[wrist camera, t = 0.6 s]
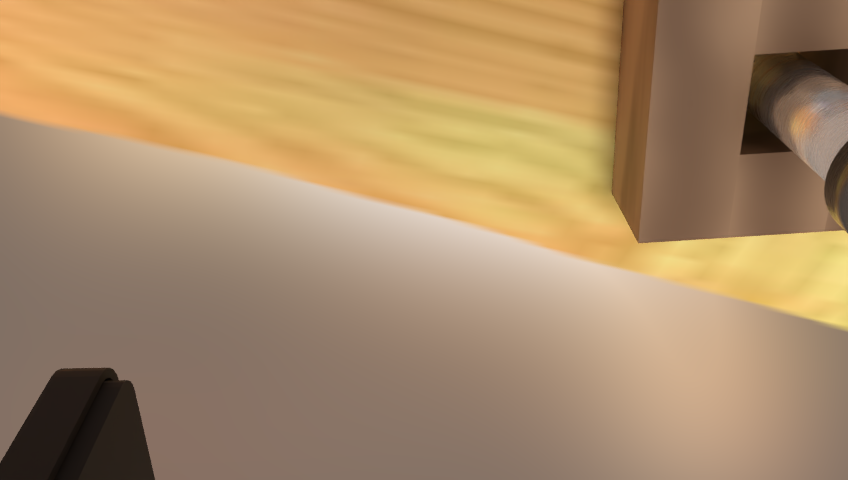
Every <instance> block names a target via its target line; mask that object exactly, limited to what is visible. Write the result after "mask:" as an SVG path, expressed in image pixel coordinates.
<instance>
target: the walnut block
mask: <svg viewBox="0 0 848 480" xmlns="http://www.w3.org/2000/svg"><path fill="white" fill-rule="evenodd" d="M788 52H800V54H801V55H802V56H804V57H805V58H807V59H808V60H810V61H811V62H813V63H814V64H816V65H817V66H819V67H820V68H822V69H823V70H825V71H826V72H828V73H830V74H831V75H833V76H834V77H836V78H837V79H839V80H840V81H842V82H843V83H845V84H846V85H848V0H624V10H623V26H622V42H621V58H620V74H619V90H618V105H617V121H616V137H615V153H614V169H613V185H612V194H613V196H614V198H615V200H616V202H617V204H618V205H619V207H620V209H621V211H622V213H623V215H624V217H625V219H626V221H627V222H628V224H629V226H630V228H631V230H632V232H633V234H634V236H635V238H636V240H637V241H638V243H649V242H665V241H681V240H696V239H712V238H728V237H744V236H760V235H775V234H791V233H807V232H823V231H839V230H844V229H843V228H842V227H841V226H840V225H839V224H838V223H837V222H836V221H835V220H834V219H833V218H832V216H831V215H830V213H829V211H828V209H827V206H826V203H825V197H824V186H825V181H824V180H823V179H822V178H821V177H820V176H819V175H818V174H817V173H816V172H815V171H813V170H812V169H811V168H810V167H809V166H808V165H807V164H806V163H805V162H804V161H803V160H801V159H800V158H799V157H798V156H797V155H796V154H795V153H794V152H793V151H792V150H791V149H789V148H788V147H787V146H786V145H785V144H784V143H783V142H782V141H781V140H780V139H779V138H777V137H776V136H775V135H774V134H773V133H772V132H771V131H770V130H769V129H768V128H767V127H765V126H764V125H763V124H762V123H761V122H760V121H759V120H758V119H757V118H756V117H755V116H754V115H752V114H751V113H750V112H749V111H748V110H746V109H747V102H748V95H749V89H750V82H751V75H752V68H753V61H754V55H757V54H773V53H788Z"/></svg>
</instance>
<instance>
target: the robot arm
mask: <svg viewBox="0 0 848 480" xmlns="http://www.w3.org/2000/svg"><path fill="white" fill-rule="evenodd" d="M0 480H155V478H154V474H153V469H152V465H151V460H150V456H149V451H148V447H147V443H146V438H145V434H144V429H143V426H142V420H141V416H140V412H139V407H138V403H137V399H136V394H135V390H134V387H133V384H132V383H131V382H130V381H127V380H126V381H125V380H123V381H119V380H118V377H117V374H116V373H115V371H114V370H113V369H111V368H73V369H60V370H57V371H56V372H55V373H54V374H53V376H52V377H51V379H50V380H49V382H48V383H47V385H46V387H45V389H44V390H43V392H42V394H41V395H40V397H39V399H38V400H37V402H36V404H35V405H34V407H33V409H32V410H31V412H30V414H29V415H28V417H27V419H26V420H25V422H24V424H23V425H22V427H21V429H20V431H19V432H18V434H17V436H16V437H15V439H14V441H13V442H12V444H11V446H10V447H9V449H8V451H7V452H6V454H5V456H4V457H3V459H2V461H1V463H0Z"/></svg>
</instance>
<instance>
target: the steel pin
mask: <svg viewBox="0 0 848 480" xmlns="http://www.w3.org/2000/svg"><path fill="white" fill-rule="evenodd" d="M747 110H748V111H749V112H750V113H751V114H752V115H754V116H755V117H756V118H757V119H758V120H759V121H760V122H761V123H762V124H763V125H764V126H765V127H767V128H768V129H769V130H770V131H771V132H772V133H773V134H774V135H775V136H776V137H777V138H779V139H780V140H781V141H782V142H783V143H784V144H785V145H786V146H787V147H788V148H789V149H791V150H792V151H793V152H794V153H795V154H796V155H797V156H798V157H799V158H800V159H801V160H803V161H804V162H805V163H806V164H807V165H808V166H809V167H810V168H811V169H812V170H813V171H815V172H816V173H817V174H818V175H819V176H820V177H821V178H822V179H823V180H824V181H825V186H824V197H825V203H826V206H827V209H828V211H829V213H830V215H831V216H832V218H833V219H834V220H835V221H836V222H837V223H838V224H839V225H840V226H841V227H842V228H843V229H844V230H845V231H846V232H847V233H848V85H846V84H845V83H843V82H842V81H840V80H839V79H837V78H836V77H834V76H833V75H831V74H830V73H828V72H826V71H825V70H823V69H822V68H820V67H819V66H817V65H816V64H814V63H813V62H811V61H810V60H808V59H807V58H805V57H804V56H802V55H801V54H799V53H798V52H788V53H773V54H757V55H754V61H753V68H752V75H751V82H750V89H749V95H748V102H747Z"/></svg>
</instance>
